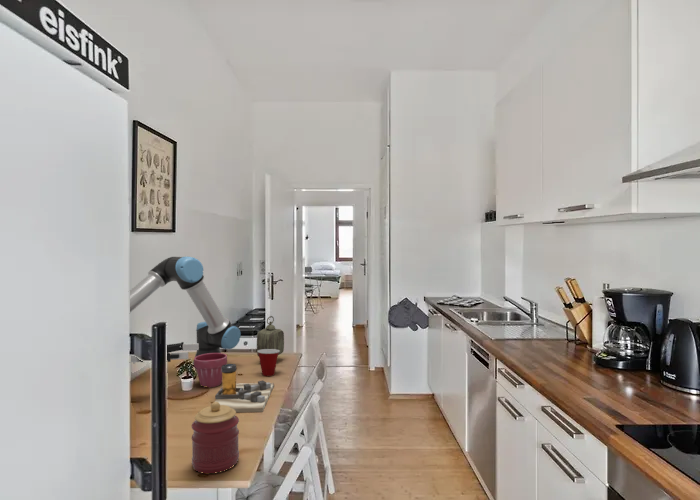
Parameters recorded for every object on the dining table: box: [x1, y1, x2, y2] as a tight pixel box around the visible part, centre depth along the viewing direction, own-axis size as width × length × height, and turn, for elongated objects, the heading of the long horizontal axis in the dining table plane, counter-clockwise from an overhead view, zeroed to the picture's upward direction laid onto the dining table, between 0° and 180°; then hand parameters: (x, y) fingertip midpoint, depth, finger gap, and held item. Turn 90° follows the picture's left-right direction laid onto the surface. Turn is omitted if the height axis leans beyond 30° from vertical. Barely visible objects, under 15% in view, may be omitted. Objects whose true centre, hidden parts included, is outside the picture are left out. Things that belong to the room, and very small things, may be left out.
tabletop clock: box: [256, 315, 285, 358], centre depth 230 cm, size 14×9×25 cm, turn 160°
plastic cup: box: [256, 349, 280, 377], centre depth 208 cm, size 11×11×12 cm
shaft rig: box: [214, 379, 275, 414], centre depth 175 cm, size 30×20×4 cm
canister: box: [191, 401, 240, 473], centre depth 122 cm, size 13×13×18 cm
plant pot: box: [193, 352, 228, 389], centre depth 193 cm, size 14×14×13 cm
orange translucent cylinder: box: [221, 363, 237, 395], centre depth 175 cm, size 6×6×12 cm
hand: (193, 350), depth 176 cm, fingers open, 13 cm apart
